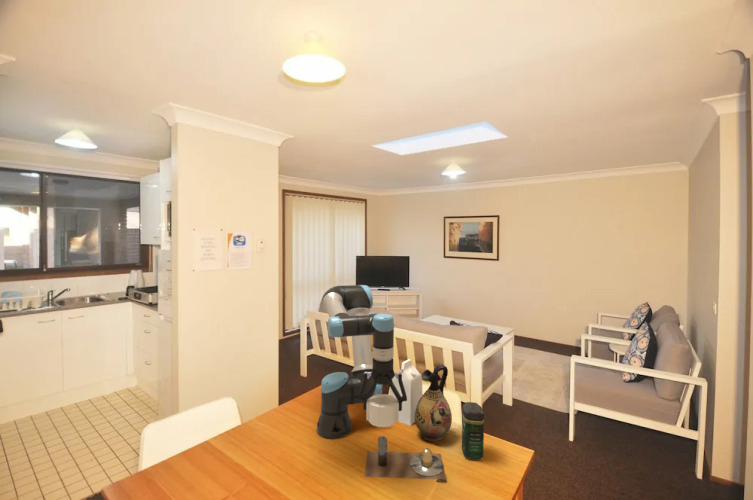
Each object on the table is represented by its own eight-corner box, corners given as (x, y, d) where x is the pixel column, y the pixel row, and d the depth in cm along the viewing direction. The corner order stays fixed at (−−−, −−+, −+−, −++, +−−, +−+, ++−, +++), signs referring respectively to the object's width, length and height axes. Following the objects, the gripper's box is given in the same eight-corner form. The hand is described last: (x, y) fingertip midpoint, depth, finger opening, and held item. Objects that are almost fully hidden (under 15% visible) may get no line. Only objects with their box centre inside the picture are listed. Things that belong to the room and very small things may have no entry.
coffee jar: (485, 462, 127) (486, 412, 127) (463, 460, 128) (464, 411, 128) (480, 446, 137) (481, 400, 136) (460, 445, 138) (460, 399, 137)
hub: (404, 469, 122) (404, 452, 121) (417, 451, 132) (418, 435, 132) (436, 481, 116) (436, 463, 115) (448, 461, 126) (448, 445, 126)
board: (364, 479, 118) (364, 476, 118) (367, 453, 132) (367, 451, 132) (446, 482, 116) (446, 479, 116) (440, 456, 130) (440, 453, 130)
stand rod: (376, 464, 124) (376, 437, 124) (380, 459, 127) (380, 432, 126) (384, 467, 122) (384, 439, 122) (388, 462, 125) (388, 435, 125)
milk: (402, 407, 168) (402, 355, 168) (423, 414, 162) (423, 360, 161) (388, 417, 159) (389, 362, 158) (410, 425, 152) (410, 367, 151)
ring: (363, 422, 122) (363, 402, 122) (377, 410, 131) (377, 391, 131) (388, 430, 117) (388, 410, 117) (401, 417, 126) (401, 398, 126)
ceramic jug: (428, 450, 134) (429, 375, 133) (407, 431, 148) (408, 362, 147) (462, 439, 142) (463, 367, 141) (439, 421, 155) (440, 356, 155)
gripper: (350, 361, 120) (350, 423, 121) (415, 362, 119) (414, 425, 120) (352, 353, 127) (352, 412, 128) (413, 355, 127) (413, 414, 127)
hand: (382, 418), depth 124 cm, fingers closed on ring, 10 cm apart
